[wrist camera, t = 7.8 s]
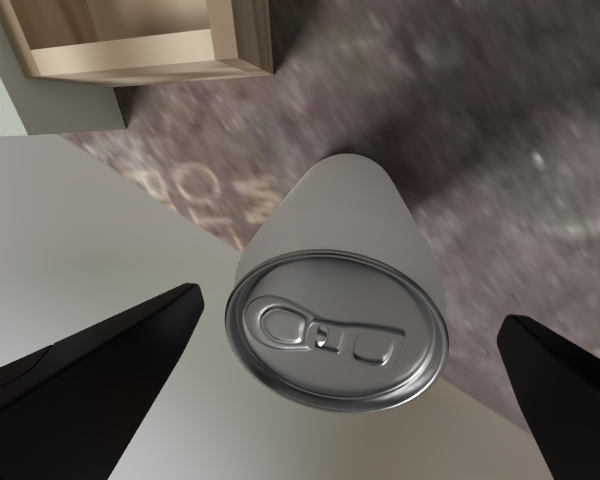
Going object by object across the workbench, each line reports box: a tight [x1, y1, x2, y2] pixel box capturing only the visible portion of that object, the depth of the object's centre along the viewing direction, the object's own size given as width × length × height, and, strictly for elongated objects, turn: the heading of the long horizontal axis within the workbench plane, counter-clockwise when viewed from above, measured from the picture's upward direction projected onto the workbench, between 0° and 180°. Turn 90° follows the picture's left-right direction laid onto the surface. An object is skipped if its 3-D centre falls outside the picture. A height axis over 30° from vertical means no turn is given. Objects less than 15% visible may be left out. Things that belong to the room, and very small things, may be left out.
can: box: [225, 154, 449, 414], centre depth 12 cm, size 6×6×12 cm
